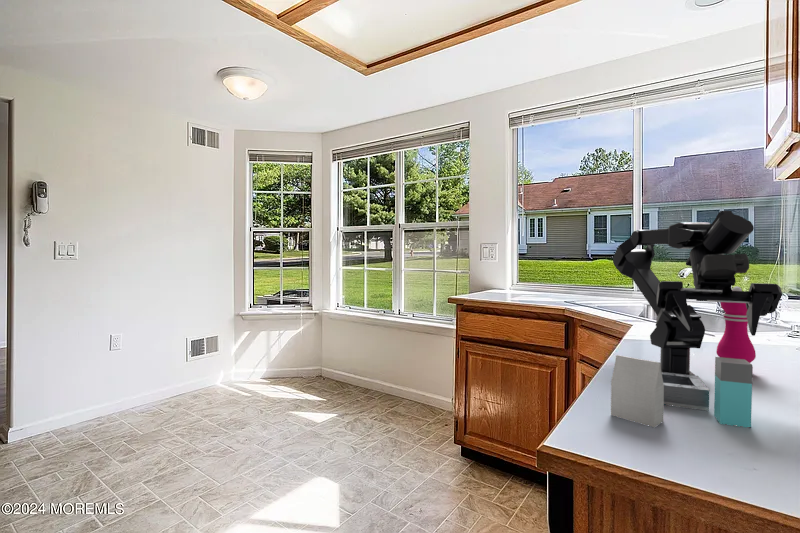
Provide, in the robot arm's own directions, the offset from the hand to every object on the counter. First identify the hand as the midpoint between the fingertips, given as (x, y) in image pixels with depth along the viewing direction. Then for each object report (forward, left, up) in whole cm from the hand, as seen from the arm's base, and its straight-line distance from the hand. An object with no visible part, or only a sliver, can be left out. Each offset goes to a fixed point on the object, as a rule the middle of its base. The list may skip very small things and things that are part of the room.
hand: (721, 332), depth 76 cm
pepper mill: (-28, +13, -14) cm, 34 cm away
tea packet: (+11, -16, -14) cm, 24 cm away
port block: (-2, -7, -13) cm, 15 cm away
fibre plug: (+8, -1, -13) cm, 16 cm away
